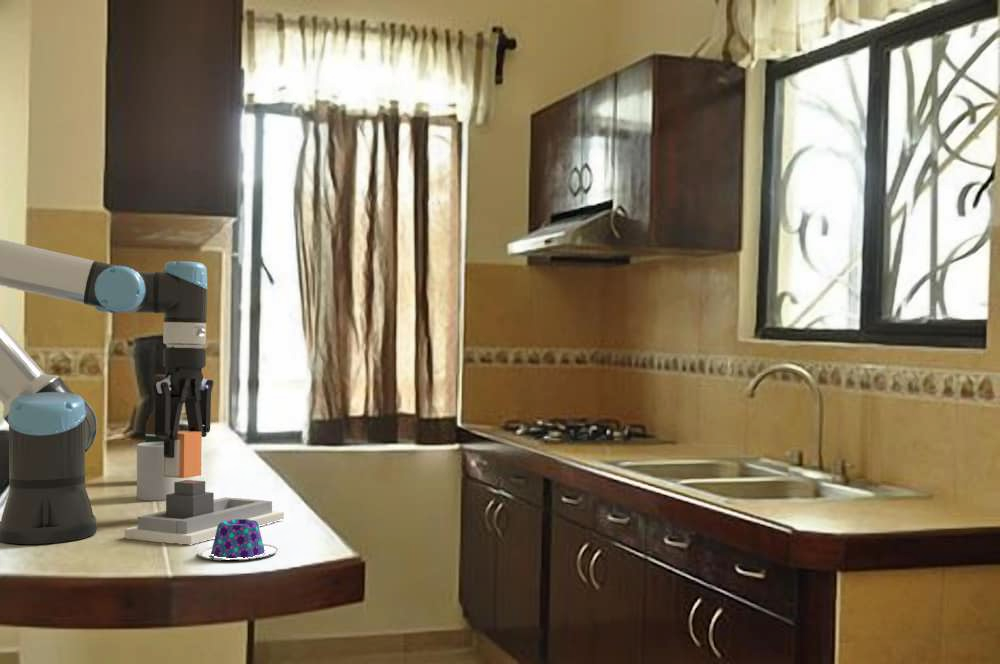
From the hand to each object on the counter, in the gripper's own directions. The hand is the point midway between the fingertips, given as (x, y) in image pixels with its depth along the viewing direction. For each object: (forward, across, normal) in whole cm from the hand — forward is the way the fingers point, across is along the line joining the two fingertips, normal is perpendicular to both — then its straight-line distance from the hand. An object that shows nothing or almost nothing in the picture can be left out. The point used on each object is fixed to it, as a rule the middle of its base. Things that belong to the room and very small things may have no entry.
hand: (182, 473), depth 197 cm
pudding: (+8, -22, -30) cm, 38 cm away
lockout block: (0, 0, 0) cm, 0 cm away
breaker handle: (+6, -12, -12) cm, 18 cm away
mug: (+8, +16, +20) cm, 28 cm away
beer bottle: (+8, +32, +34) cm, 48 cm away
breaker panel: (+8, -8, -12) cm, 17 cm away
